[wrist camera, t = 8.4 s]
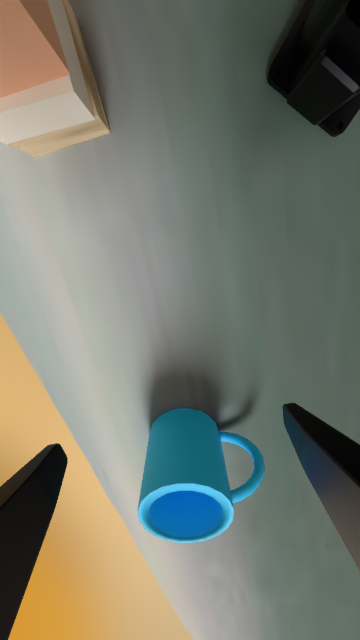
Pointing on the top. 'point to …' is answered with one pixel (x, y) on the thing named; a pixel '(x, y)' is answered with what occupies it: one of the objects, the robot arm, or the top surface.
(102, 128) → the slab lower
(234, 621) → the top surface
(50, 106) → the slab upper
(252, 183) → the top surface
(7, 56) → the coral cube
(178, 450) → the mug
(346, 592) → the top surface
